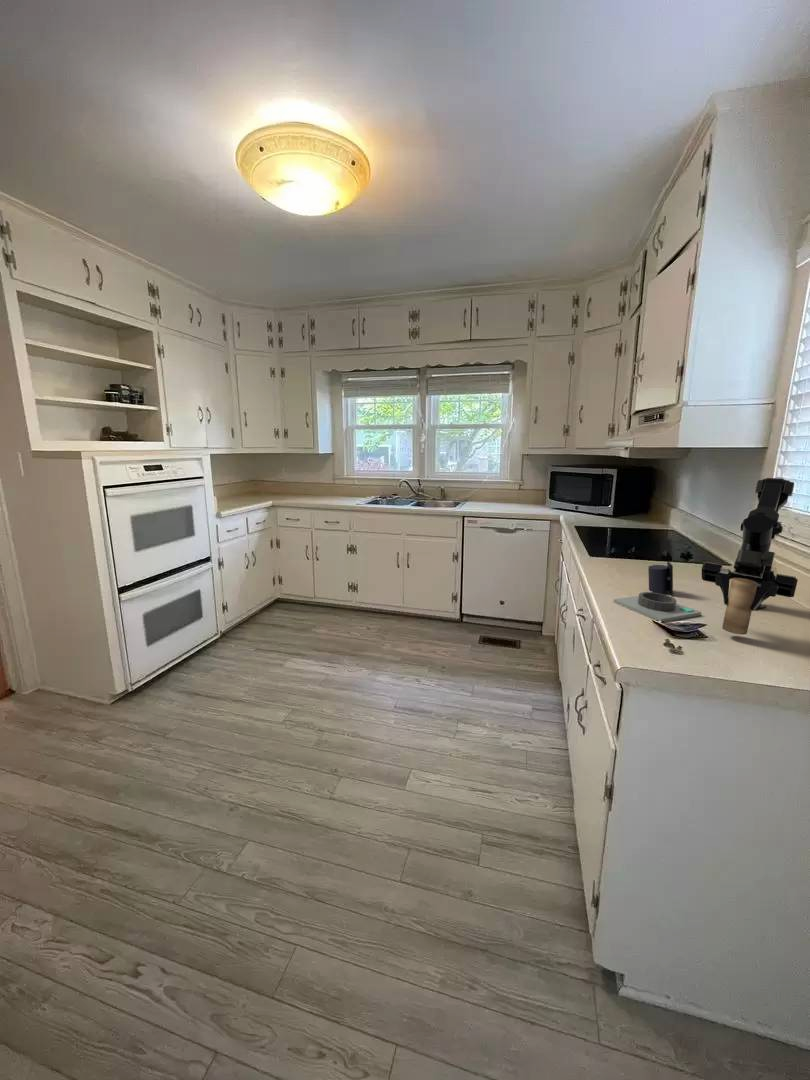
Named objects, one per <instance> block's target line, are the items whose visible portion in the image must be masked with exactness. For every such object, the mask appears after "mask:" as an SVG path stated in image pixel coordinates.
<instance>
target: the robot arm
mask: <svg viewBox="0 0 810 1080" xmlns="http://www.w3.org/2000/svg"><path fill="white" fill-rule="evenodd" d="M794 487H795V482H793V481H790V480H789V479H788V480H787V479H784V478H782V477H781V478H779V477H766V478H763V479H758V480H757V482H756V487H755V491H754V493H755V494H756V495H757V506H756V508H755V509H752V510H750V511H749V513H748V516H747V517H746V518H743V521H742V522H741V523H740V531H741V532H742V537H741V540H742V543H741V546H740V549H738V553H737V557H736V558H735V561H734V565H733V569H734V570H733V571H732V570H730V569H728V568H724V567H723V564H721V563H717V562H716V563H715V562H711V561H710V562H709V561H706V562H704V563H702V566H701V580H702V581H705V582H708V583H709V582H710V583H714V584H715V586H717V587H719V588H720V590H721V593H722V597H723V604H724V605H725V606H727V601H728V596H729V591H730V582H731V580H732V578H743V579H749V580H753V581H755V582H757V583H758V584H757V589H756V593H755V598H754V602H753V606H752V612H754V611H755V610H761V609H766V608H767V605H764V604H763V602H765V600H767V599H768V598H770V597H771V598H772V597H773V598H775V597H776V596H782V597H787V598H795V597H794V596H795V593H796V590H797V585H798V581H799V579H798V578H797V577H796V576H792V575H787V574H783V573H782V574H781V573H776V575H775V573H774V572H775V571H773V570H772V569H773V564H774V563H773V562H774V560H775V559H774V557H775V552H773V551H770V549H771V546H772V540H774V539H775V536H779V535H780V534H781V533H783V529H784V527H783V526H782V522H779V518H780V513H779V511H780V510H781V509H782V508H783V507H784V506H785V505H786V504H787V503H788V500H789V497H793V496H792V495H793V493H794Z"/></svg>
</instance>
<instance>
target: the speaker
mask: <svg viewBox="0 0 810 1080" xmlns="http://www.w3.org/2000/svg"><path fill="white" fill-rule="evenodd" d="M647 569H648V591H649V590H650V591H649V592H651V591H653V592H654V593H660V594H664V593H668V592H669V593H670V594H669V593H668V594H669V596H671V597H674V585H673V584H674V582H673V581H674V575H673V574H674V573H673V572H674V566H673V564H672V563H671V562H670V561H666V565H663V564H652V565H649V566H648V567H647Z"/></svg>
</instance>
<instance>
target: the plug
mask: <svg viewBox="0 0 810 1080" xmlns="http://www.w3.org/2000/svg"><path fill="white" fill-rule="evenodd" d="M757 584H758V583H757V582H755V581H753V580H749V579H743V578H732V579H731V580H730V585H729V594H728V601H727V605H725V606H726V608H725V612H724V616H723V622H722V627H721V628H722V630H723V631H725V632H728V633H731V634H733V635H734V634H735V635H743V636H744V635H747V634H748V630H749V626H750V625H749V624H750V620H751V616H752V612H753V611H752V606H753V602H754V598H755V593H756V589H757Z"/></svg>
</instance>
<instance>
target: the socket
mask: <svg viewBox="0 0 810 1080" xmlns="http://www.w3.org/2000/svg"><path fill="white" fill-rule="evenodd" d="M677 601H678V600H676V598H674V596H671V595H668V594H664V593H656V592H651V591H643V592H640V593H639V594H638V595H635V596H627V597H620V598H614V599H613V604H617V605H619V606H622V607H623V608H626V609H629V610H630V611H633V612H635V613H638V614H640V615H642V616H645V617H647V618H650V619H652V620H654V621H656V620H658V621H657V622H659V621H666V622H671V621H676V620H683V619H689V618H694V617H700V616H701V615H702V611H699V610H696V609H693V608H691V607H688V606H685V605H683V604H680V603H677Z"/></svg>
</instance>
